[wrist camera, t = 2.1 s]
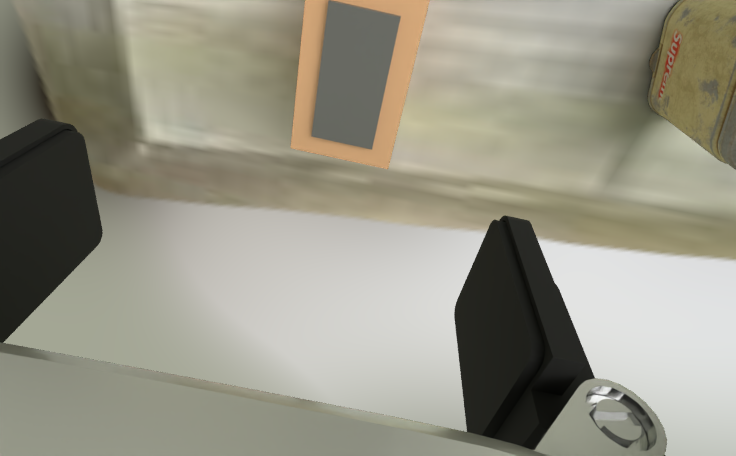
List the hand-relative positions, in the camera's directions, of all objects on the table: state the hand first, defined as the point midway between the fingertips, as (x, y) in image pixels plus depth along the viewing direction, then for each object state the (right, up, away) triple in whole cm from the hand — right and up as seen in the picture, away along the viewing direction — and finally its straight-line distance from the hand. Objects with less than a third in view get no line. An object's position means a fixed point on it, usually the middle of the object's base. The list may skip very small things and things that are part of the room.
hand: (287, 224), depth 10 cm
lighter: (+20, +10, +15) cm, 27 cm away
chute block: (+2, +11, +16) cm, 20 cm away
